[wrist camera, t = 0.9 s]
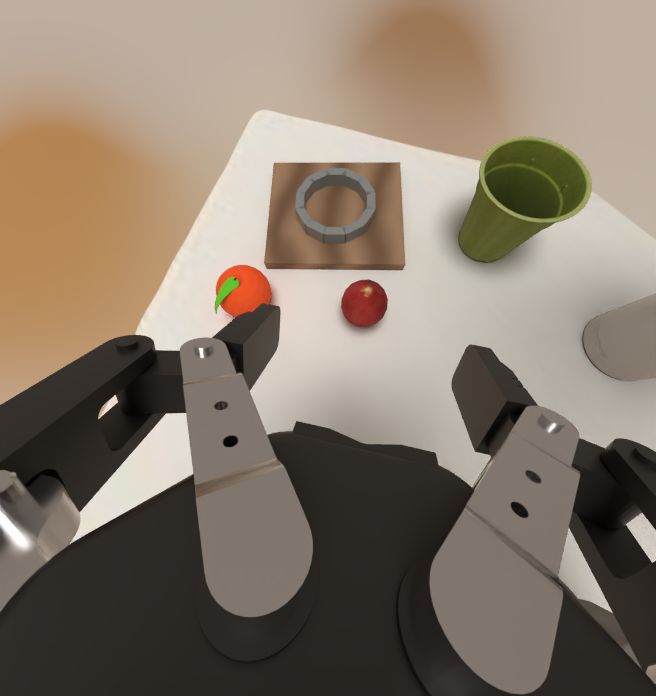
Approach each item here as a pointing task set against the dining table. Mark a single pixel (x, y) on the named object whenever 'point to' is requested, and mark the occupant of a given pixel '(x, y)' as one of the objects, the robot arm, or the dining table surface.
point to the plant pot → (522, 195)
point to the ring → (335, 179)
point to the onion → (364, 303)
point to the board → (336, 220)
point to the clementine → (242, 290)
